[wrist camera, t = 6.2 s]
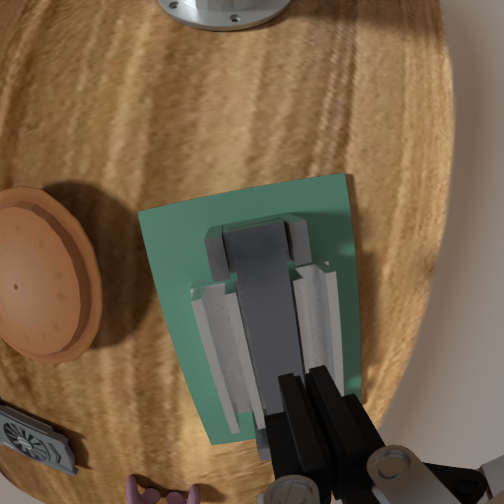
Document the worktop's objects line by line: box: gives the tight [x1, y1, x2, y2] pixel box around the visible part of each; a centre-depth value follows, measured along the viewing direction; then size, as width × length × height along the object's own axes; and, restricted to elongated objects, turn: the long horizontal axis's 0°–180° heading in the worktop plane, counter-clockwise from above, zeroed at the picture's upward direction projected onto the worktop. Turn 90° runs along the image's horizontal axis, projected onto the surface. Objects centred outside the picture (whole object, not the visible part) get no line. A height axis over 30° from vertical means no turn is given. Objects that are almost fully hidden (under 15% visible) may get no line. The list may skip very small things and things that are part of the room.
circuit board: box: [138, 173, 361, 445], centre depth 25 cm, size 24×16×1 cm, turn 10°
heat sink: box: [190, 212, 344, 461], centre depth 21 cm, size 18×10×6 cm, turn 10°
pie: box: [0, 186, 104, 364], centre depth 20 cm, size 15×16×5 cm
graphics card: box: [0, 396, 79, 476], centre depth 25 cm, size 17×4×12 cm
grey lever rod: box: [228, 218, 305, 415], centre depth 19 cm, size 19×3×2 cm, turn 10°
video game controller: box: [126, 475, 200, 504], centre depth 27 cm, size 10×5×7 cm, turn 83°
